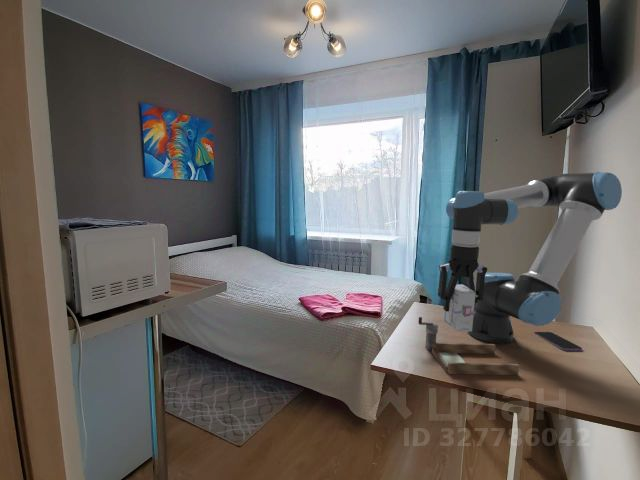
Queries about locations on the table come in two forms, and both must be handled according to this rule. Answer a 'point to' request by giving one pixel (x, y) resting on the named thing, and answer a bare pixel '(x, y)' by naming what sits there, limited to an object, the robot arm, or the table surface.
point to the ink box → (462, 308)
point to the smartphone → (558, 341)
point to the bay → (453, 361)
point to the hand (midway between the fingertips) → (457, 321)
